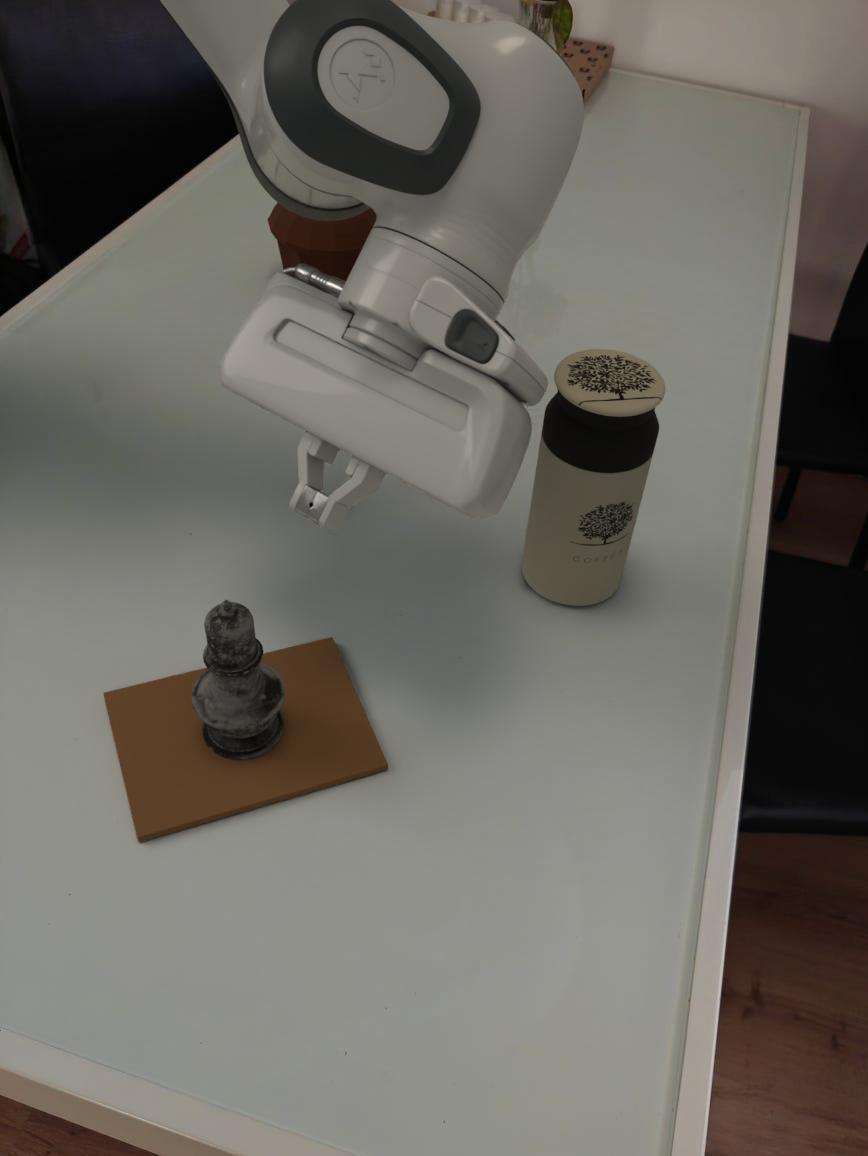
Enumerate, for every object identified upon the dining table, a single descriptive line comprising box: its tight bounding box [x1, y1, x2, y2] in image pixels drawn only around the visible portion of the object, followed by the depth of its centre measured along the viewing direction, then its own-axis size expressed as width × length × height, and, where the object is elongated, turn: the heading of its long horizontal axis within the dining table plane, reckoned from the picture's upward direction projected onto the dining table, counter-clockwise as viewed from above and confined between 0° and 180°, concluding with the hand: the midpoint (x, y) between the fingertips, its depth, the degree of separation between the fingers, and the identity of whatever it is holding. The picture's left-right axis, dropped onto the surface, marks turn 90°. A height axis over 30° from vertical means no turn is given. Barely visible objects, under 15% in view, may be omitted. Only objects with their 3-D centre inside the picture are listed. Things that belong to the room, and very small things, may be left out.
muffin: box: [266, 202, 377, 292], centre depth 105 cm, size 12×11×10 cm
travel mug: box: [520, 348, 666, 607], centre depth 75 cm, size 8×8×18 cm
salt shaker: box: [191, 599, 286, 760], centre depth 64 cm, size 6×6×12 cm
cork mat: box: [103, 636, 389, 843], centre depth 68 cm, size 16×12×1 cm
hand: (311, 520), depth 63 cm, fingers closed
